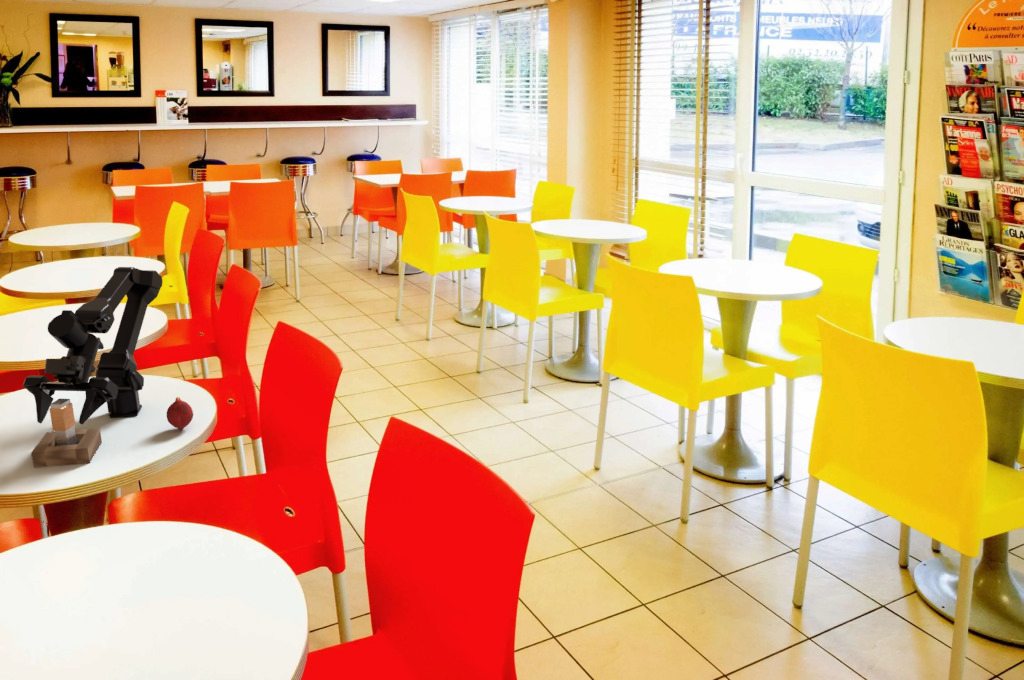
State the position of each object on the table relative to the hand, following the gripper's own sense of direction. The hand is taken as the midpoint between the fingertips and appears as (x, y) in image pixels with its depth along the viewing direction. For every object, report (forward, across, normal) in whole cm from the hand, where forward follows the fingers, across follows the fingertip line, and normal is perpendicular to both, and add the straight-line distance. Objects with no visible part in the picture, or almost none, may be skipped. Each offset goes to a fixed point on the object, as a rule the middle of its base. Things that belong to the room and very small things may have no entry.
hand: (59, 423), depth 183 cm
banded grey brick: (+5, 0, +7) cm, 8 cm away
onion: (-6, +18, +18) cm, 26 cm away
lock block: (+5, 0, +7) cm, 8 cm away
